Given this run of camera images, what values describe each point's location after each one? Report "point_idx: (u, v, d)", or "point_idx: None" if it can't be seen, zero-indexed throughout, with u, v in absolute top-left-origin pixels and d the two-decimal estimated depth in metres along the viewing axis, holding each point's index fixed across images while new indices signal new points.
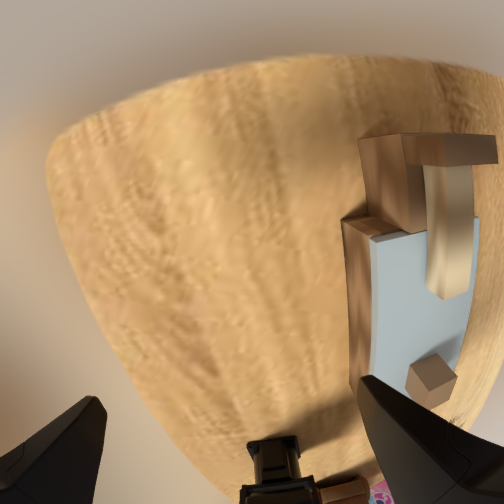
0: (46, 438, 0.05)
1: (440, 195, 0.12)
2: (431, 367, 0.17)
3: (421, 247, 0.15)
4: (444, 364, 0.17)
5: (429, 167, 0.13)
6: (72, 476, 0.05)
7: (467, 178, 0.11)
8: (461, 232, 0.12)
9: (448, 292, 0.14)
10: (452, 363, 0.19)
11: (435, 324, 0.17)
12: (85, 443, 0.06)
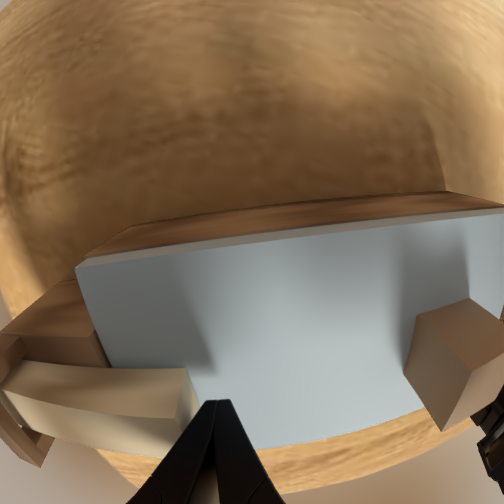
0: (179, 464, 0.05)
1: None
2: (426, 365, 0.08)
3: None
4: (439, 343, 0.07)
5: None
6: (211, 500, 0.05)
7: (15, 401, 0.06)
8: (77, 429, 0.06)
9: None
10: (473, 236, 0.08)
11: (329, 356, 0.09)
12: None
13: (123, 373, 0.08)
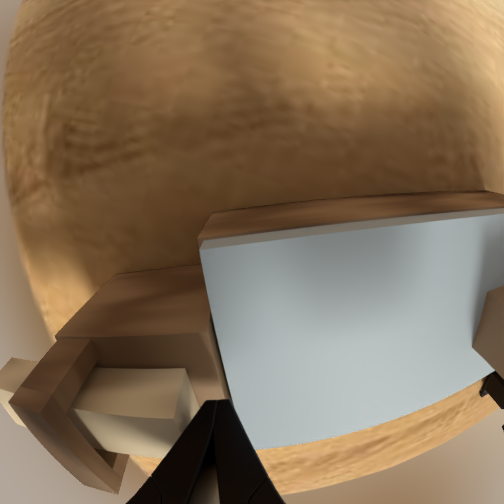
0: (179, 464, 0.05)
1: None
2: (496, 333, 0.08)
3: (262, 404, 0.09)
4: None
5: None
6: (211, 500, 0.05)
7: None
8: None
9: None
10: None
11: (429, 330, 0.09)
12: None
13: (122, 373, 0.08)
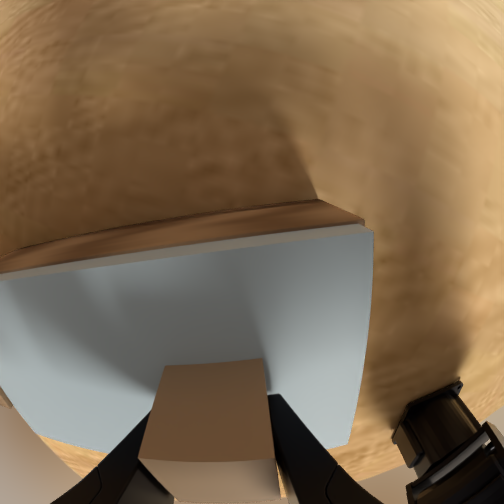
0: (124, 457, 0.05)
1: None
2: None
3: (14, 395, 0.08)
4: None
5: None
6: (156, 496, 0.05)
7: None
8: None
9: None
10: (235, 278, 0.07)
11: (89, 382, 0.08)
12: None
13: None
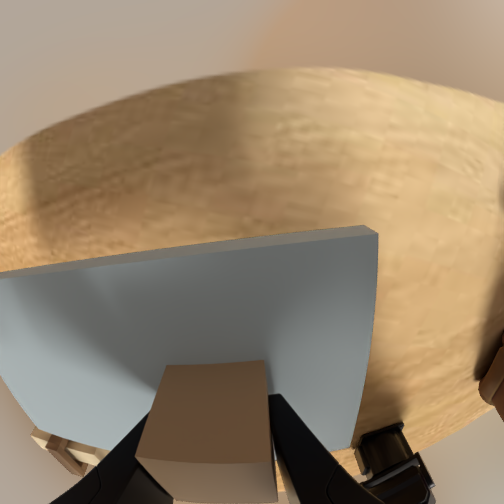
0: (124, 458, 0.05)
1: None
2: None
3: (17, 391, 0.09)
4: None
5: None
6: (155, 496, 0.05)
7: (43, 442, 0.16)
8: (67, 453, 0.16)
9: None
10: (237, 279, 0.07)
11: (91, 380, 0.08)
12: None
13: None
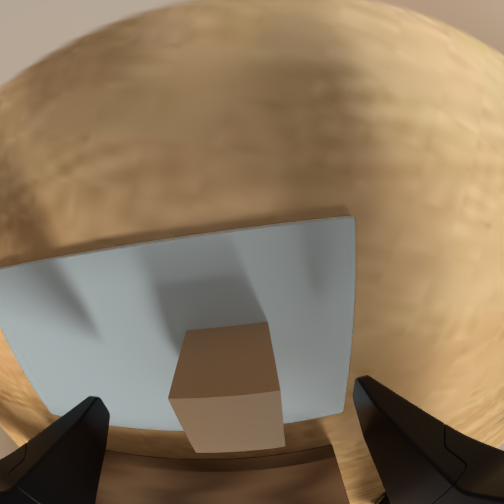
0: (49, 439, 0.05)
1: None
2: None
3: (34, 374, 0.10)
4: None
5: None
6: (75, 477, 0.05)
7: None
8: None
9: None
10: (247, 253, 0.09)
11: (115, 352, 0.10)
12: (88, 444, 0.06)
13: None
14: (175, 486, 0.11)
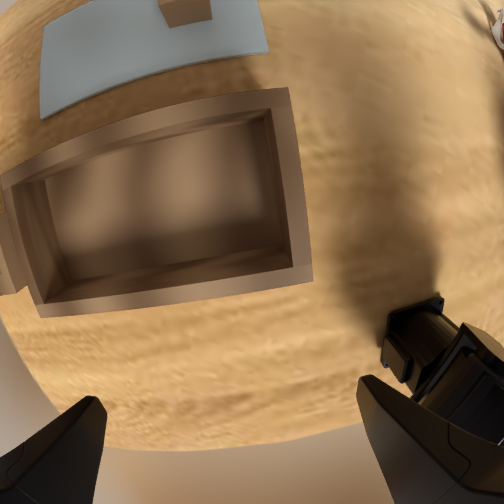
0: (46, 438, 0.05)
1: None
2: None
3: (49, 76, 0.13)
4: None
5: None
6: (72, 476, 0.05)
7: None
8: None
9: None
10: None
11: (122, 22, 0.13)
12: (85, 443, 0.06)
13: None
14: None
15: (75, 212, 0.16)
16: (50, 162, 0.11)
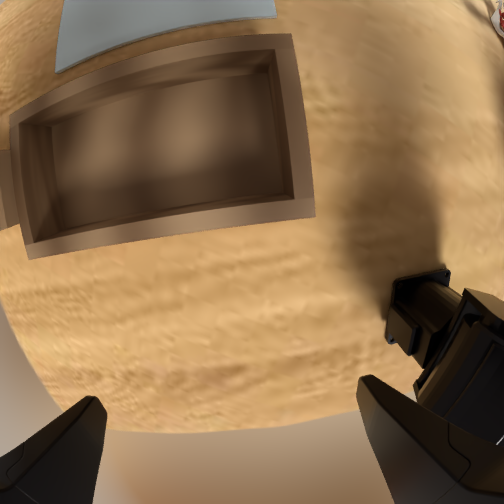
0: (46, 438, 0.05)
1: None
2: None
3: (67, 34, 0.13)
4: None
5: None
6: (72, 476, 0.05)
7: None
8: None
9: None
10: None
11: None
12: (85, 443, 0.06)
13: None
14: None
15: (77, 156, 0.16)
16: (60, 97, 0.11)
